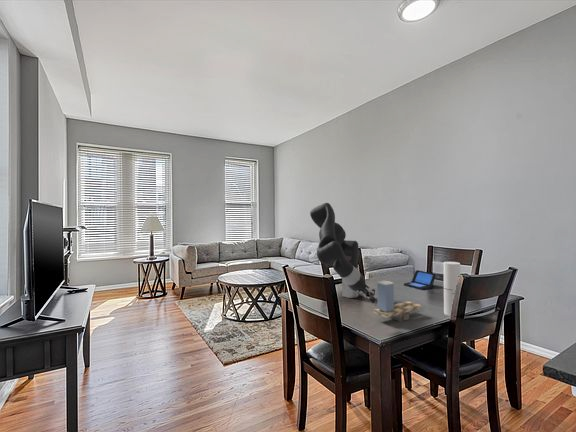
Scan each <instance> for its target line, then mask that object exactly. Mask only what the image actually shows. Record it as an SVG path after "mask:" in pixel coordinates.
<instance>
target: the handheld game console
mask: <svg viewBox="0 0 576 432" xmlns="http://www.w3.org/2000/svg"><path fill="white" fill-rule="evenodd" d="M436 277H437V275H436V273H433V272H427V271H423V270H415V272H414V275H413V277H412V280H411V281H408V282H405V283H403V285H404V287H409V288H413V289H416V290H420V291H425V290H430V289H433V284H434V282H435V278H436Z"/></svg>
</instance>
